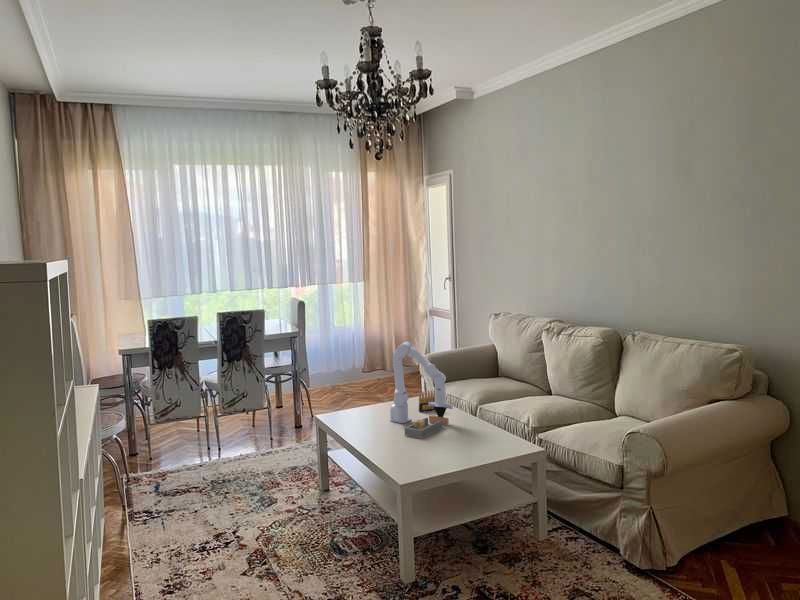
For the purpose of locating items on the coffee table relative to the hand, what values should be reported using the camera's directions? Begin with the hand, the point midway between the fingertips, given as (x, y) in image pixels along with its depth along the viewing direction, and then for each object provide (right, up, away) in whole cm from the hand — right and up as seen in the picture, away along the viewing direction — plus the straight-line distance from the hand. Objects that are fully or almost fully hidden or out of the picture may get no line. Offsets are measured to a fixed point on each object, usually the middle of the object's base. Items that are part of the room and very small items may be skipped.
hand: (440, 420), depth 336 cm
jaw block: (-12, -3, -17) cm, 21 cm away
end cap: (-1, -1, -2) cm, 3 cm away
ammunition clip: (-6, +1, +25) cm, 25 cm away
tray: (-10, -3, -14) cm, 17 cm away
